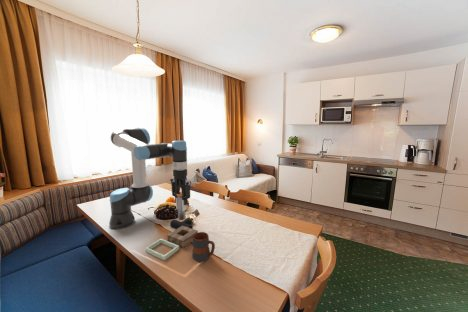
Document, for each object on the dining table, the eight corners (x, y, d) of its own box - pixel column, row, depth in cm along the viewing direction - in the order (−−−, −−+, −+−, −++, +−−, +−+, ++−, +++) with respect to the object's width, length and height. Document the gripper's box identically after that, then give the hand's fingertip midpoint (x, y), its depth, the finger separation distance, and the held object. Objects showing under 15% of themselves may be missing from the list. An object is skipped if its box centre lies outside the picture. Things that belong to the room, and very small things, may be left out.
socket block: (167, 243, 110) (167, 234, 109) (182, 233, 120) (182, 225, 120) (183, 249, 104) (183, 240, 104) (197, 238, 115) (197, 230, 114)
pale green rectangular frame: (145, 253, 101) (145, 247, 101) (161, 243, 110) (160, 238, 109) (164, 262, 94) (164, 256, 94) (179, 250, 103) (179, 245, 103)
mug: (210, 266, 91) (210, 244, 90) (189, 260, 96) (188, 238, 94) (218, 255, 99) (218, 234, 98) (198, 250, 104) (197, 230, 102)
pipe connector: (183, 214, 135) (199, 219, 128) (183, 221, 136) (199, 226, 129) (169, 221, 126) (186, 227, 118) (170, 228, 127) (187, 235, 119)
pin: (175, 219, 110) (174, 193, 107) (181, 215, 114) (180, 191, 112) (181, 221, 107) (181, 195, 105) (187, 217, 111) (187, 192, 109)
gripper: (163, 168, 107) (165, 208, 111) (187, 172, 99) (188, 215, 102) (174, 165, 113) (175, 203, 117) (196, 169, 105) (197, 209, 109)
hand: (181, 209), depth 110 cm, fingers closed on pin, 4 cm apart
